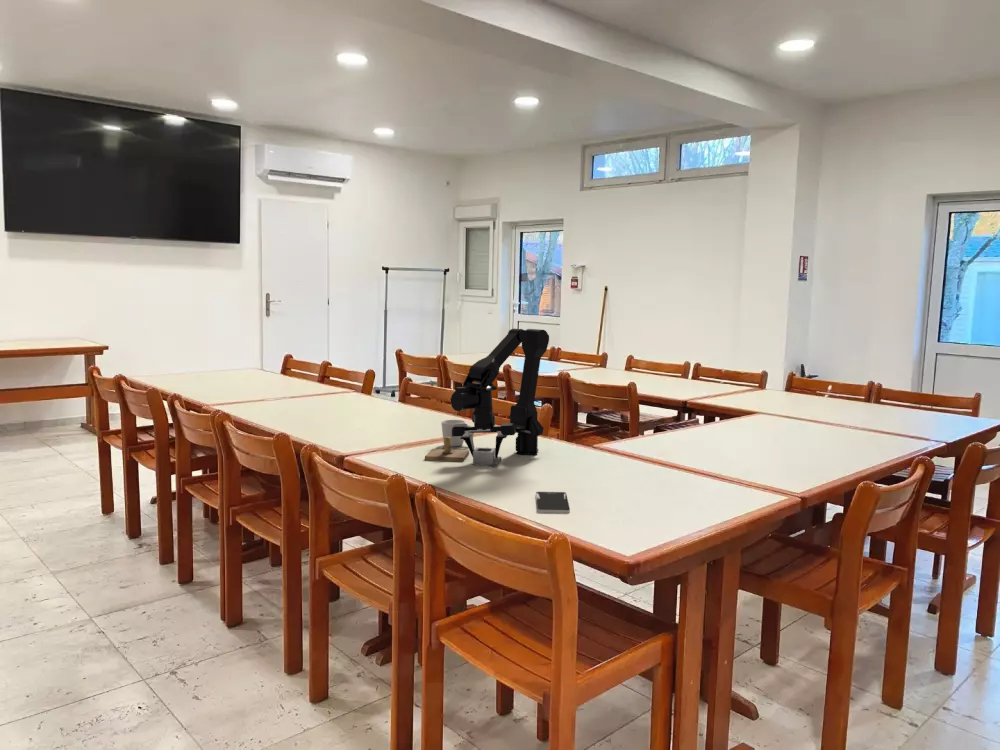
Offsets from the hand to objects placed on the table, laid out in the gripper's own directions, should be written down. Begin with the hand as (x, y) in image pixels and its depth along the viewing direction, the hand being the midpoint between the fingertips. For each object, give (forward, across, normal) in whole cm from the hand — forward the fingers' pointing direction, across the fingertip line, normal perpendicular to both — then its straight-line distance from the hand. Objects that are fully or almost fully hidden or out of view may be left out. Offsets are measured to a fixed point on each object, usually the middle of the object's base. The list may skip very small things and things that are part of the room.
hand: (485, 458), depth 219 cm
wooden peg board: (+1, +13, -6) cm, 14 cm away
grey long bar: (+2, -3, 0) cm, 4 cm away
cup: (+1, +13, -23) cm, 26 cm away
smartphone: (+4, -22, +38) cm, 44 cm away
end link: (+2, 0, 0) cm, 2 cm away
